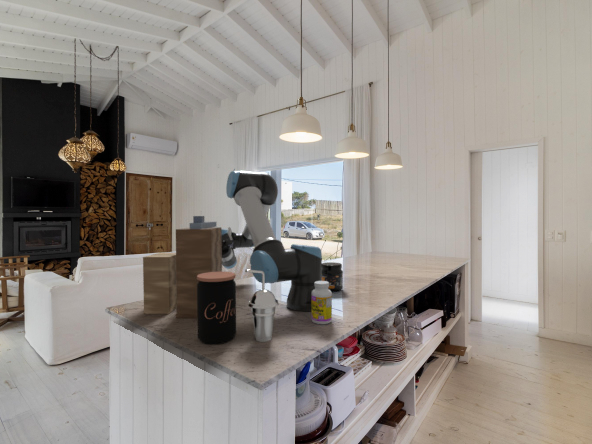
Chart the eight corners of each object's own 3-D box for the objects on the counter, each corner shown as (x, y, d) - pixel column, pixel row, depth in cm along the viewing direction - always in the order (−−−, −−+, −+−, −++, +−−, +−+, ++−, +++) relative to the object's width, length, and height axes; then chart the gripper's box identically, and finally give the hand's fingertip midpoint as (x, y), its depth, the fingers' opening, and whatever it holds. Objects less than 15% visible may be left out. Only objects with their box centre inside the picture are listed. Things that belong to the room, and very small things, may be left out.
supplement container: (315, 290, 147) (315, 264, 147) (327, 286, 156) (327, 261, 156) (336, 293, 141) (336, 266, 141) (346, 289, 150) (346, 263, 150)
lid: (206, 226, 130) (206, 215, 130) (216, 226, 130) (216, 215, 130) (189, 229, 110) (189, 216, 110) (201, 229, 110) (201, 216, 110)
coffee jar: (201, 348, 84) (200, 280, 84) (194, 334, 94) (193, 273, 93) (241, 340, 89) (240, 276, 89) (230, 328, 99) (229, 270, 98)
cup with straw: (279, 344, 87) (278, 270, 86) (245, 345, 86) (244, 270, 86) (278, 332, 95) (277, 265, 95) (247, 333, 95) (246, 265, 94)
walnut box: (190, 305, 123) (189, 227, 123) (222, 305, 123) (222, 227, 122) (176, 317, 109) (174, 229, 108) (212, 318, 109) (211, 229, 108)
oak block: (160, 302, 127) (159, 252, 127) (183, 303, 127) (182, 252, 127) (143, 313, 114) (143, 257, 113) (169, 313, 114) (168, 257, 113)
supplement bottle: (307, 321, 105) (307, 282, 105) (319, 316, 110) (319, 279, 110) (323, 326, 100) (323, 285, 100) (335, 321, 105) (335, 282, 105)
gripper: (249, 258, 150) (241, 238, 131) (196, 258, 150) (181, 238, 132) (250, 243, 154) (243, 222, 135) (198, 243, 154) (184, 222, 135)
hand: (212, 230), depth 133 cm, fingers open, 13 cm apart
